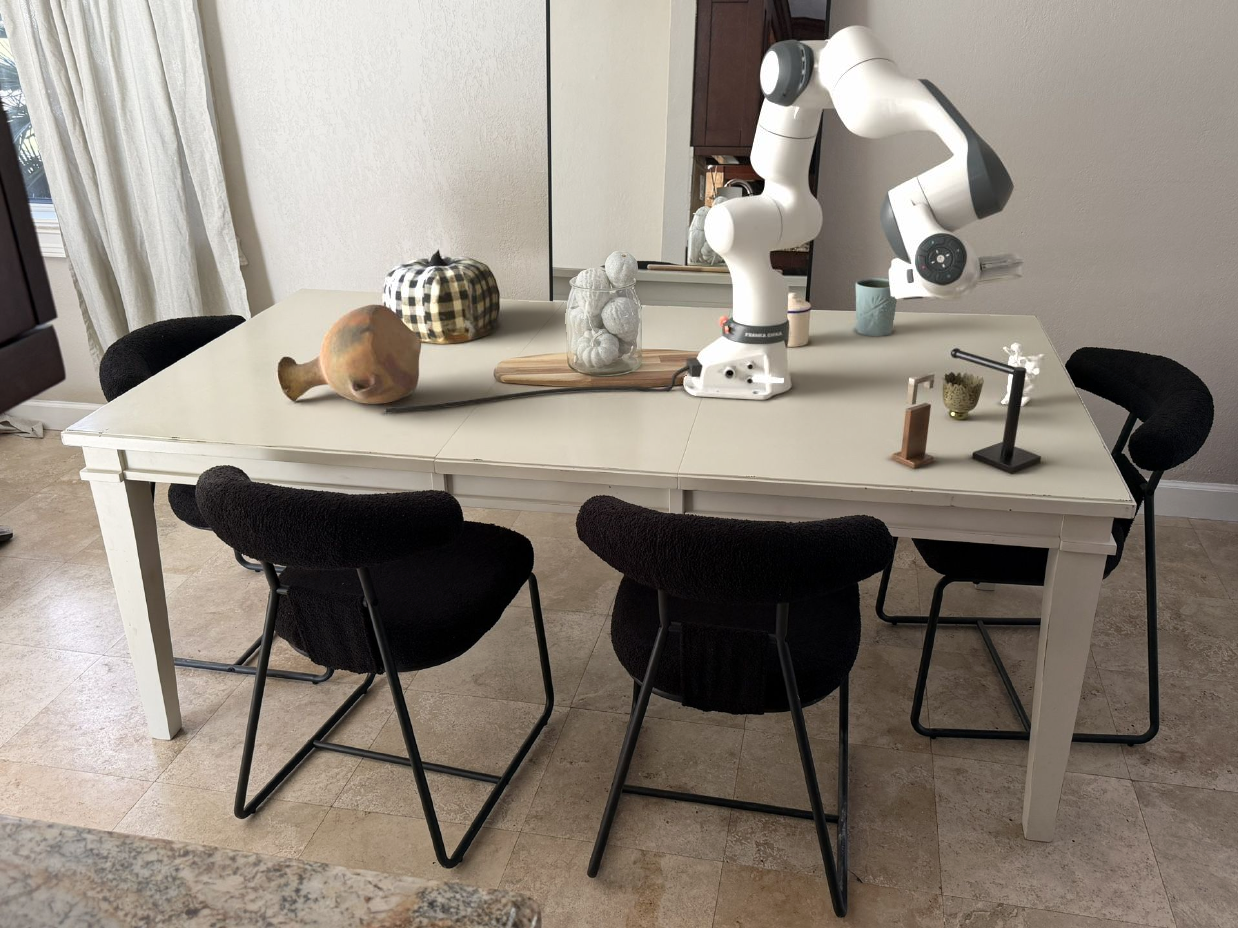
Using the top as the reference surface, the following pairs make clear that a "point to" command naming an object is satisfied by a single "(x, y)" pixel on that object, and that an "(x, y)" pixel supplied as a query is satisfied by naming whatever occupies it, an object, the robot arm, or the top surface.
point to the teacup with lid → (798, 320)
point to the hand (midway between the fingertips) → (957, 280)
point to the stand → (1006, 452)
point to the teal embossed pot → (874, 307)
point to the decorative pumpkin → (444, 298)
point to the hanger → (916, 426)
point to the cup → (961, 394)
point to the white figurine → (1033, 369)
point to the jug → (359, 359)
